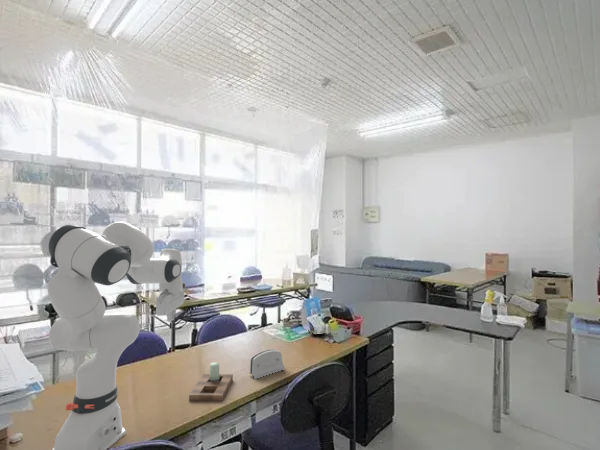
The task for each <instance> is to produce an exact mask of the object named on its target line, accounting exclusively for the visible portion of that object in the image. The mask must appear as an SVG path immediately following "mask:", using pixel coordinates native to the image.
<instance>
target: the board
mask: <svg viewBox="0 0 600 450" xmlns="http://www.w3.org/2000/svg"><path fill="white" fill-rule="evenodd" d="M233 376H234V375H233V374H227V373H226V374H223V373H221V374H220V373H219V382H210V380H209V379H210V373H208V374H207V373H204V374H202V376H201V377H200V379H199V380H198V381H197V383H196V384H195V385H194V387H193V389H192V390H191V392H190V393H189V394H188V402H190V401H191V402H201V401H202V402H222V401H223V400H224V399H225V396H226V395H227V392H228V390H229V389H230V387H231V385H232V382H233V379H234V377H233Z"/></svg>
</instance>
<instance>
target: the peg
mask: <svg viewBox="0 0 600 450" xmlns="http://www.w3.org/2000/svg"><path fill="white" fill-rule="evenodd" d="M209 374H210V379H209V380H210V382H219V374H220V362H218V361H217V362H216V361H215V362H214V361H213V362H211V363H209Z"/></svg>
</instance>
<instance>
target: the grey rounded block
mask: <svg viewBox="0 0 600 450" xmlns="http://www.w3.org/2000/svg"><path fill="white" fill-rule="evenodd" d="M249 360H250V361H249V373H248V374H249V375H251V376H253V379H254V380H257V378H258V379H260V377H261V378H264V377H267V376H269V374H270V375H272V373H273V374H276V373H279V372H282V371H281V370H283V371H285V365H284V362H283V357H282V352H281V351H280V350H277V349H266V350H265V349H264V350H261V351H259V352H257V353H255V354H254V355H252V356H251V357H250V359H249ZM278 371H279V372H278ZM275 372H276V373H275ZM266 375H267V376H266ZM263 376H264V377H263Z"/></svg>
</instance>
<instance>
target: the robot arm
mask: <svg viewBox="0 0 600 450" xmlns="http://www.w3.org/2000/svg"><path fill="white" fill-rule="evenodd" d="M154 248H155V247H154V243H153V242H152V240H151V239H150V238H149V236H147V235H146V234H145V233H144V232H143V231H142V230H140V229H139V228H137V226H134V225H132V224H130V223H127V222H125V221H115V222H113V223H110V224H109V225H107V227H105V229H103V232H102V235H100V234H98V233H96V232H93V231H91V230H89V229H87V228H86V227H84V226H81V225H76V224H66V225H63V226H61V227H58V229H56V230H55V231H54V232H53V233H52V235H51V237H49V243H48V252H49V255H50V264H51V265H52V266H53V267H55V268H58V271H57V272H56V274H55V275H53V276H52V277H51V278H50V280H49V281H48V283H47V288H46V289H47V294H48V298H49V301H50V303H51V306H52V307H53V310H55V312H56V314H57V315H58V316H59V318H58V319H57V320H56V321H55V322H54V323H52V326H51V327H50V328H49V331H48V341H49V344H50V345H51V347H52V348H53V349H54V350H59V351H60V350H61V351H70V352H73V351H74V352H75V351H77V352H78V351H87V350H88V351H89V350H96V355H95V356H93V357H91V358H89V359H88V360H86V361H84V362H83V363H82V364H81V365H79V367H78V368H77V370H76V373H75V394H74V397H73V399H72V402H68V403H67V404H66V406H65V410H66V411H70V413H69V415H68V417H67V418H66V420H65V421H64V423H63V425H62V426H61V428H60V430H59V431H58V433H57V434H56V436H55V440H54V445H53V448H52V449H51V450H108V449H109V448H110V447H112V445H114V444H115V443H116V442H118V441H119V440H120V439H121V438H122V437H123V436H125V435H126V434H127V432H126V429H125V427H123V419H122V409H121V406H120V405H119V403H118V400H117V398H118V393H119V390H118V386H117V384H116V383H117V381H116V379H117V368H118V361H119V359H120V357H121V355H122V354H123V352H124V351H126V349H127V348H129V346H130V345H132V344H133V343H134V342H135V341H136V339H137V338H138V336H139V334H140V331H141V330H140V329H141V325H140V321H139V318H137V316H136V315H135V314H134V313H133V314H131V313H126V312H110V313H109V312H106V303H105V301H104V299H103V297H102V295H101V293H100V291H99V289H98V287H97V286H96V283H97V284H99V285H101V286H102V285H103V286H108V287H109V286H112V285H114V284H117V283H119V282H120V281H122V280H124V278H125V277H126V278H127V280H128V281H129V282H130V283H131V284H133V285H139V284H140V285H142V284H158V285H159V286H158V287H159V289H158V292H159V295H158V296H157V298H156V303H155V304H156V306H155V314H156V316H159V317H160V316H162V317H163V316H166V318H167V319H166V321H167V322H168V323H169V322H172V321H174V320H175V315H176V311H177V310H176V309H178V308H179V307H180V306H182V305H184V304H185V303H184V302H185V295H186V294H185V288H186V283H185V282H184V281H183V278H182V271H183V261H182V260H183V259H182V254H181V250H180V249H178V248H171V247H170V248H163V249H161V250H160V254H159V258H152V257H153V255H154ZM105 312H106V313H105ZM107 448H108V449H107Z"/></svg>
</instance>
